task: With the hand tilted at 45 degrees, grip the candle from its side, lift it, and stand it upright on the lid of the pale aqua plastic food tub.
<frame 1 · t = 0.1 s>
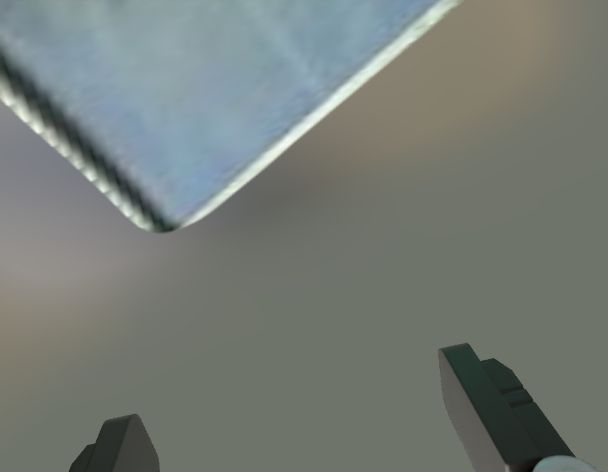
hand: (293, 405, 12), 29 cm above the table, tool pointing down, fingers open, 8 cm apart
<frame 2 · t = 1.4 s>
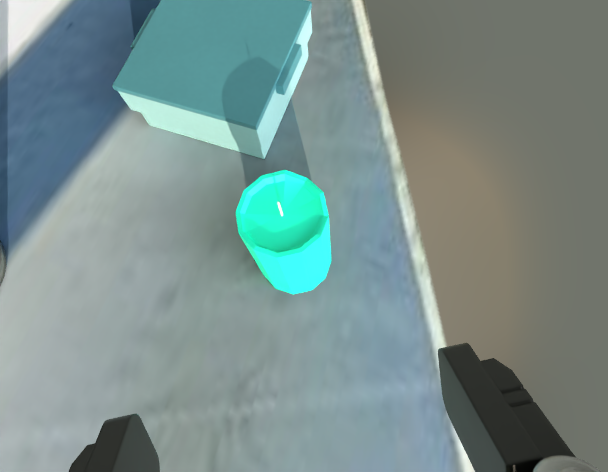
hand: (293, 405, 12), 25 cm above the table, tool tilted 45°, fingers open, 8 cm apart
food tub: (230, 90, 46), on the table
candle: (295, 259, 40), on the table
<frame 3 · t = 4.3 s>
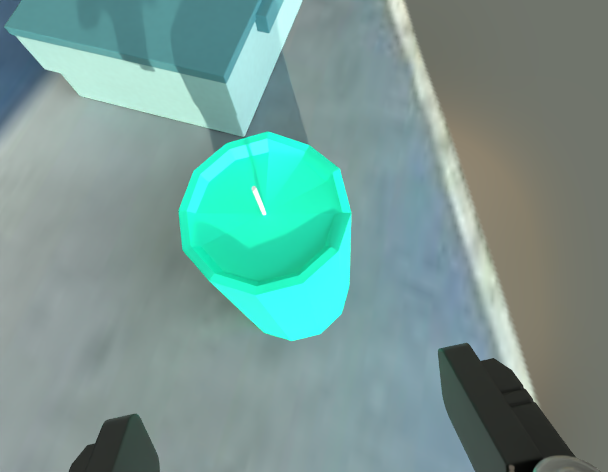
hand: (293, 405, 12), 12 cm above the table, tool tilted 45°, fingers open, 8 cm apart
food tub: (195, 44, 32), on the table
candle: (294, 286, 26), on the table
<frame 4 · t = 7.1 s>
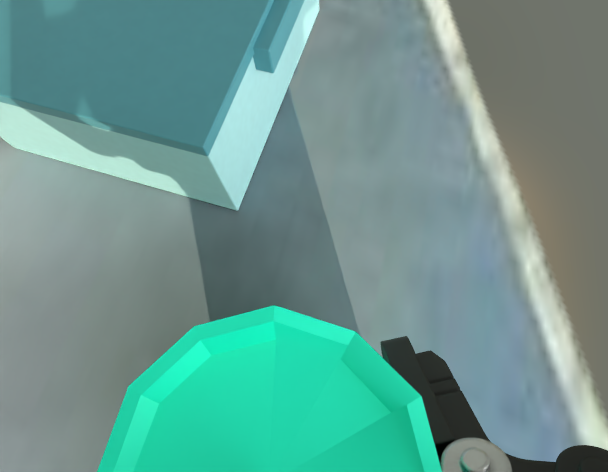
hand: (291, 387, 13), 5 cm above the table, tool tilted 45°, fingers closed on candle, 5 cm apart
food tub: (171, 76, 24), on the table
candle: (310, 443, 18), on the table, touching gripper
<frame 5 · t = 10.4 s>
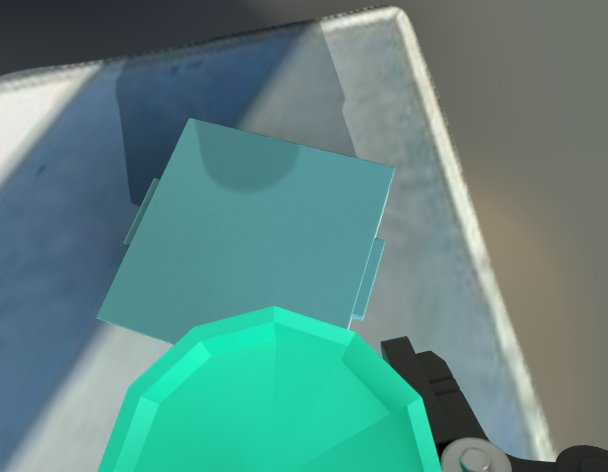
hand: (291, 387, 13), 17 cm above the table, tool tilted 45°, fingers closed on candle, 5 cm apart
food tub: (268, 272, 32), on the table
candle: (310, 443, 18), point 11 cm above the table, touching gripper
when the fingers open (12 cm above the table, at t = 13.7 s): candle stays where it is, resting on food tub.
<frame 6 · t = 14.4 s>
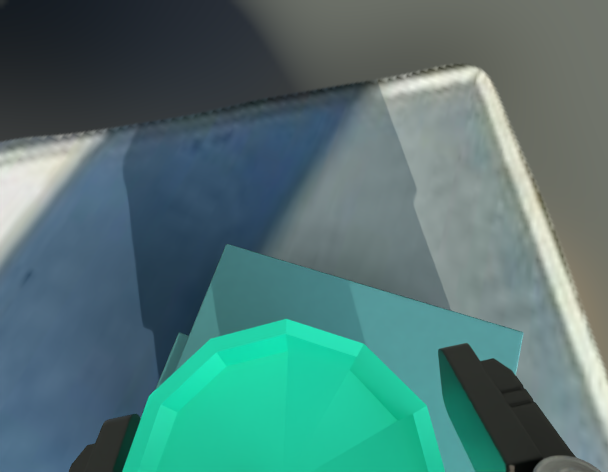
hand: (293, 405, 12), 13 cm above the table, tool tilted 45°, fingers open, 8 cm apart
food tub: (326, 434, 24), on the table
candle: (316, 446, 18), point 6 cm above the table, touching food tub
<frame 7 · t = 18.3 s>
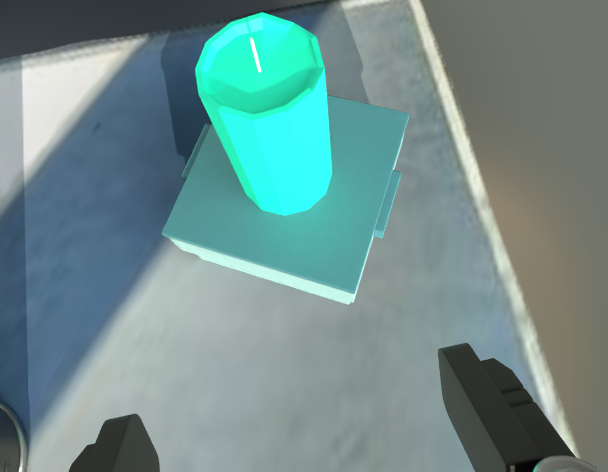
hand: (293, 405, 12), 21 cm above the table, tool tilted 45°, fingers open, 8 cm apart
food tub: (298, 210, 37), on the table
candle: (287, 175, 31), point 6 cm above the table, touching food tub
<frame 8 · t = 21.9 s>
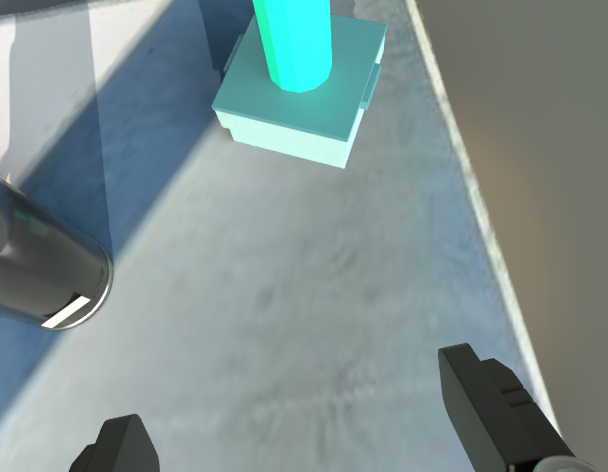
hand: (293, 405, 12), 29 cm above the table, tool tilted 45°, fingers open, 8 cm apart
food tub: (306, 106, 50), on the table
candle: (299, 67, 44), point 6 cm above the table, touching food tub
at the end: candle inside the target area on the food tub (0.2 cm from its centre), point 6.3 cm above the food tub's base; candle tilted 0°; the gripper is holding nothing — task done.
